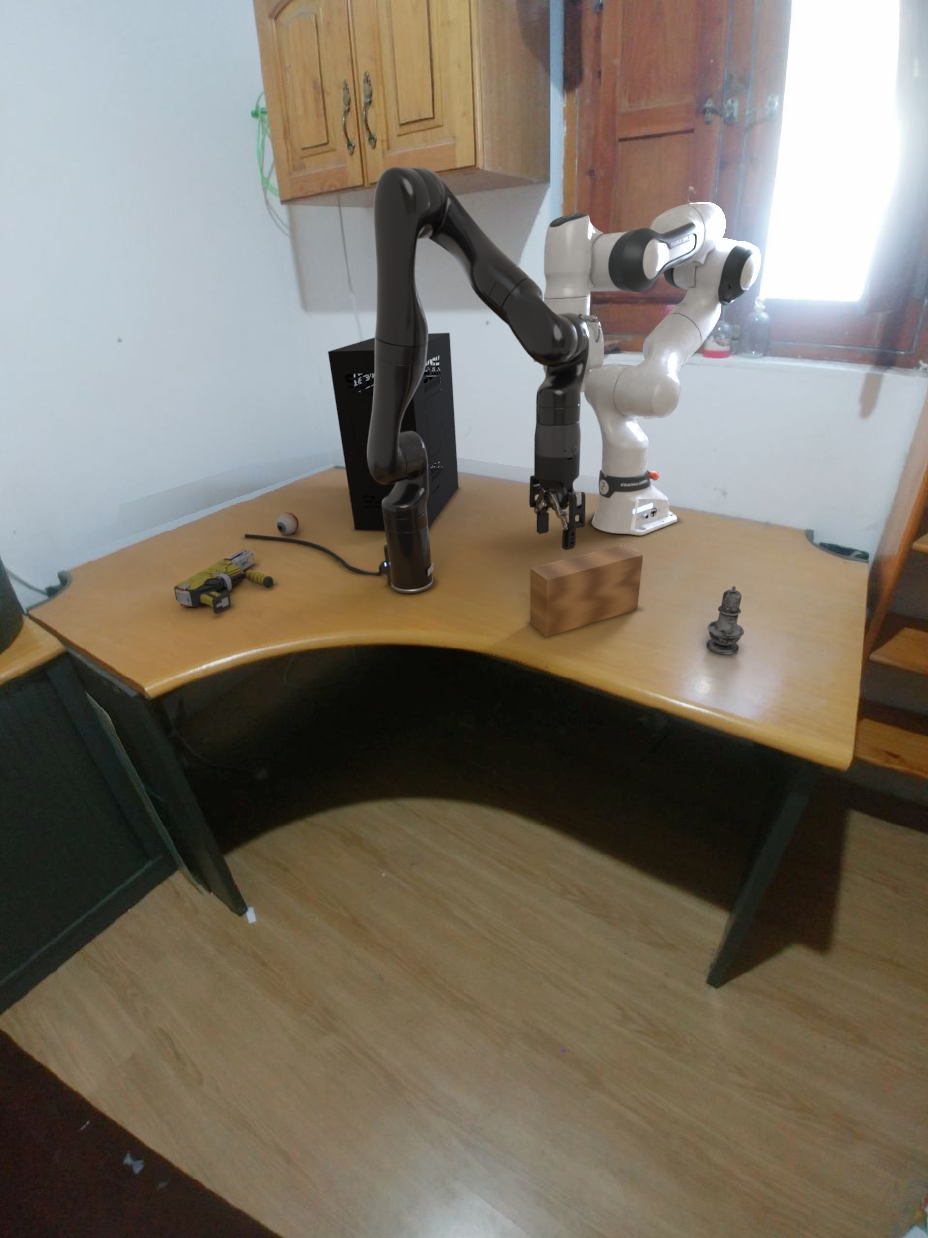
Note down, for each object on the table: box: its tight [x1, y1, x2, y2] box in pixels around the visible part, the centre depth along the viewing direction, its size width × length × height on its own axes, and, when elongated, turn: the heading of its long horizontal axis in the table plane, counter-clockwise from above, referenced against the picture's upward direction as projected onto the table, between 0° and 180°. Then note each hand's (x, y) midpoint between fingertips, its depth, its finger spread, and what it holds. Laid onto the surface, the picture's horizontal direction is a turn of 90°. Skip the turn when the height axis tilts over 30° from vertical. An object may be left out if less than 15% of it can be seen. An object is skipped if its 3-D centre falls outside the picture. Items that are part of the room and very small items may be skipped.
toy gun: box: [173, 548, 274, 614], centre depth 136 cm, size 5×24×15 cm
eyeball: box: [275, 511, 300, 536], centre depth 163 cm, size 6×6×6 cm
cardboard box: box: [327, 332, 460, 532], centre depth 168 cm, size 38×20×45 cm, turn 167°
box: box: [529, 544, 644, 638], centre depth 116 cm, size 21×6×12 cm, turn 115°
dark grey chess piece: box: [706, 585, 745, 655], centre depth 104 cm, size 6×6×12 cm
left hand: (555, 540), depth 107 cm, fingers open, 8 cm apart
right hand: (565, 389), depth 124 cm, fingers open, 8 cm apart
